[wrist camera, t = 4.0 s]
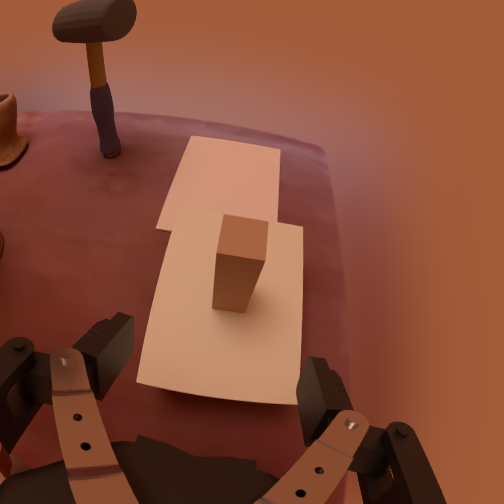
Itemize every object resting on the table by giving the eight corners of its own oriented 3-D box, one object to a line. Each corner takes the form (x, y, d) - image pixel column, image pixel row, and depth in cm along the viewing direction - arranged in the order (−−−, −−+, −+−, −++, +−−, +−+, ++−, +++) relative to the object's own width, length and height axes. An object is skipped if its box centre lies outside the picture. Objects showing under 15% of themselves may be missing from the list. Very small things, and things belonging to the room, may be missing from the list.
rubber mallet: (149, 149, 47) (142, -12, 22) (123, 174, 43) (99, -1, 18) (102, 134, 48) (84, -4, 23) (77, 157, 44) (46, 11, 19)
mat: (275, 248, 40) (275, 247, 40) (156, 229, 39) (155, 228, 38) (279, 151, 52) (280, 149, 51) (191, 137, 50) (191, 135, 50)
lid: (289, 404, 24) (350, 399, 14) (142, 384, 23) (94, 364, 12) (296, 238, 34) (334, 161, 24) (180, 219, 33) (176, 133, 22)
